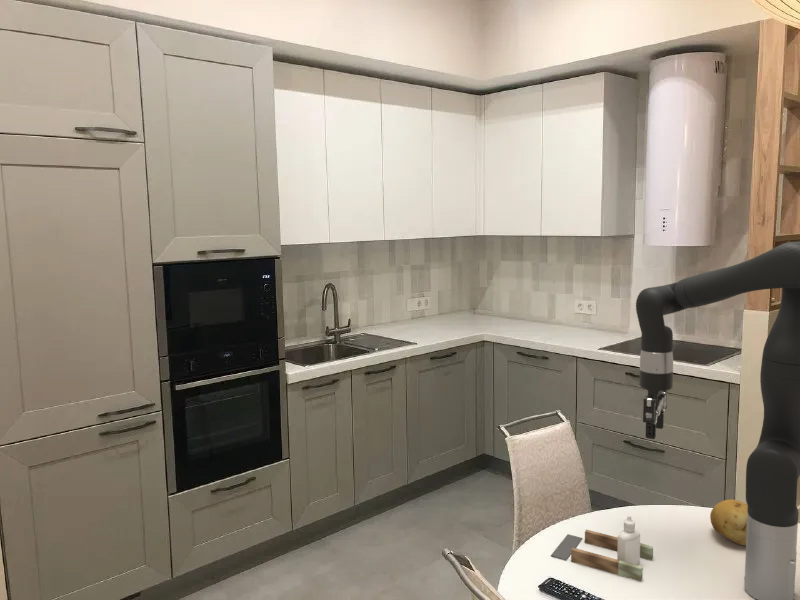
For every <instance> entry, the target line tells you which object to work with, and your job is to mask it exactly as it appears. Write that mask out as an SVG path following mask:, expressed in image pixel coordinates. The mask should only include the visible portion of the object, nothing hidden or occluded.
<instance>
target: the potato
mask: <svg viewBox="0 0 800 600" xmlns="http://www.w3.org/2000/svg"><path fill="white" fill-rule="evenodd" d="M747 513H748V505H747V503H746V502H743V501H740V500H737V499H725V500H722V501H720V502H718V503H716V504H715V505H714V506H713V507H712V509H711V511H710V515H709V516H710V517H709V518H710V524H711V526H712V528H713V529H714V531H715V532H717V533H718V534H720V535H722V536H724V538H726V539H728V540H731V541H733V542H735V543H736V544H737V545H742V546H746V534H747Z"/></svg>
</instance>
